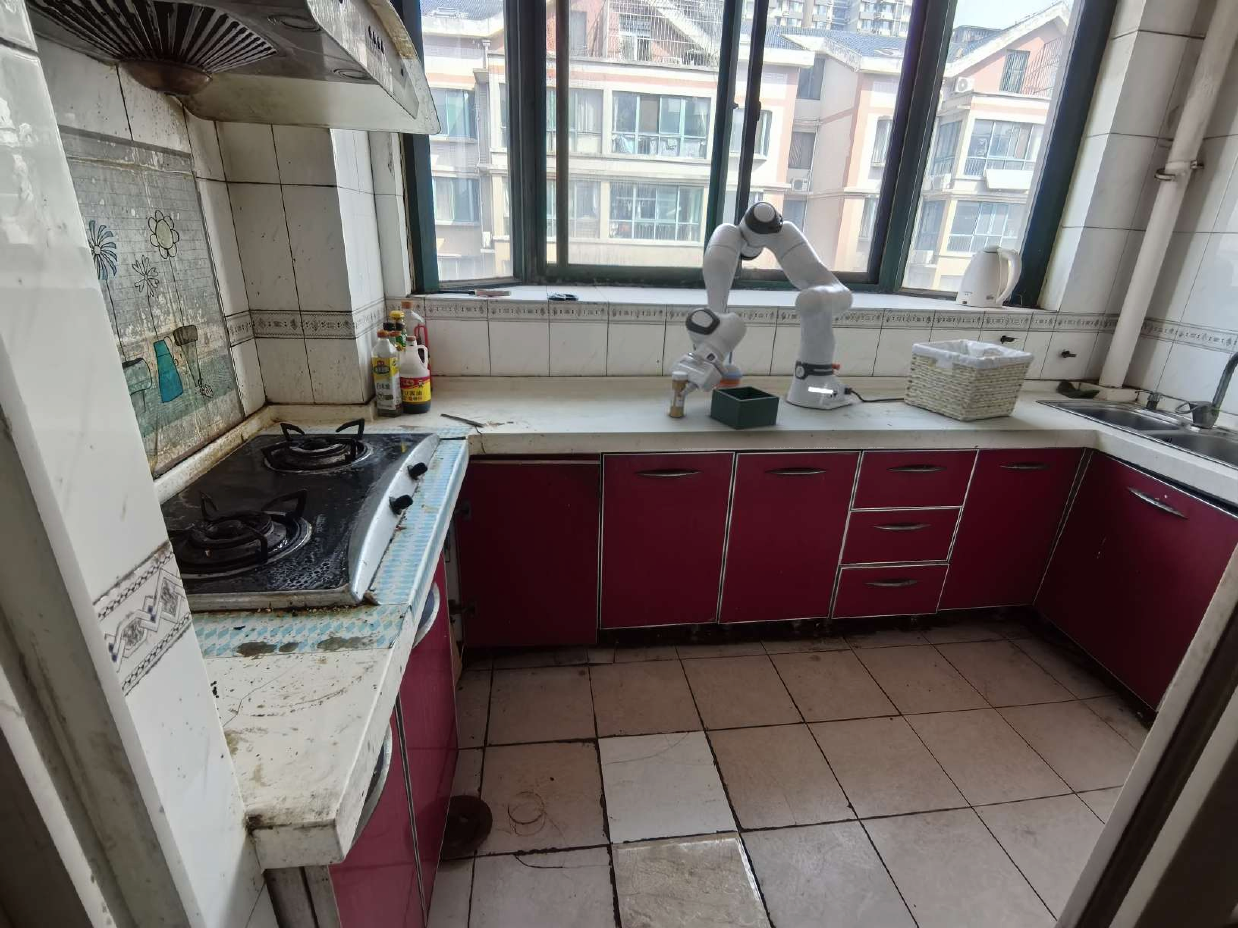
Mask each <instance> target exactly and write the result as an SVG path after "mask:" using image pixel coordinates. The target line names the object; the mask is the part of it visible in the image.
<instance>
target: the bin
mask: <svg viewBox="0 0 1238 928" xmlns="http://www.w3.org/2000/svg"><path fill="white" fill-rule="evenodd" d="M780 397H781V396H779V395H776V394H773V393H770V392H768V391H766V390H763V389H761V388H758V387H755V386H753V385H742V386H739V387H732V388H722V389H716V388H713V389H712V393H711V403H710V412H709V413H710V414H709V416H710V417H711V418H713V419H715V420H717V421H719V422H720V423H723V424H725V425H727V426H729V427H730V428H733V429H735V430H744V429H752V428H759V427H766V426H774V425H776V424H777V417H778V411H779V405H780Z"/></svg>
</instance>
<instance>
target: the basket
mask: <svg viewBox="0 0 1238 928" xmlns="http://www.w3.org/2000/svg"><path fill="white" fill-rule="evenodd" d="M986 354H988V355H990V356H985V355H986ZM992 355H996V356H992ZM1034 360H1035V354H1034V353H1032V352H1029V351H1027V352H1025V351H1023V350H1017V349H1014V348H1009V347H1005V346H1002V345H998V344H995V343H989V342H982V341H975V340H968V339H967V338H964V339H962V338H961V339H958V340H953V339H952V340H941V341H939V340H938V341H928V342H915V343H914V344H913V345H912V349H911V358H910V364H909V369H908V376H907V382H906V385H905V391H904V397H903V398H904V400H903V401H904V403H906V404H907V405H911V406H915V407H919V408H921V409H926V410H929V411H932V412H933V413H939V414H942V415H944V416H946V417H949V418H952V419H956V420H958V421H960V422H967V421H974V420H977V419H979V420H985V419H987V418H996V417H1004V416H1011V415H1013V412H1014V411H1015V406H1016V404H1017V401H1018V399H1019V396H1020V393H1021V390H1022V388H1023V385H1024V382H1025V379H1026V377H1027V374H1028V372H1029V369H1030V366H1031V364H1032V363H1033V362H1034Z"/></svg>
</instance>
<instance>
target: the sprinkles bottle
mask: <svg viewBox="0 0 1238 928" xmlns="http://www.w3.org/2000/svg"><path fill="white" fill-rule="evenodd" d="M686 380H687V373H686V372H681V371H675V372H673V373H672V376H671V385H672V388H671V390H670V400H669V401H670V402H669V406H670V407H669V413H668V415H669V416H671V417H673V418H682V417H684V414H685V413H684V412H685V403H686V396H685V397H683V396H681V395H680V394H679V392H680V391H681V390H682V389H685V388H686V387H687V383H686Z"/></svg>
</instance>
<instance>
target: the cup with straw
mask: <svg viewBox="0 0 1238 928" xmlns="http://www.w3.org/2000/svg"><path fill="white" fill-rule="evenodd" d="M733 352H734V350H733V351H732V352H731V353H729V354H728V362H723V365H724V366H725V367H726V369H727V370H728V372H727V374H726V375H724V376H722V378H721V380H720V381H719V382H718V384H717V385H716V386H715V389H722V388H732V387H740V385H741V382H740V381H741V379H742V378H743V375H744V374H743V372H742V371H741V368H740V366H739V365H738V364H736V363H735V362H732V361H733V354H734V353H733Z"/></svg>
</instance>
